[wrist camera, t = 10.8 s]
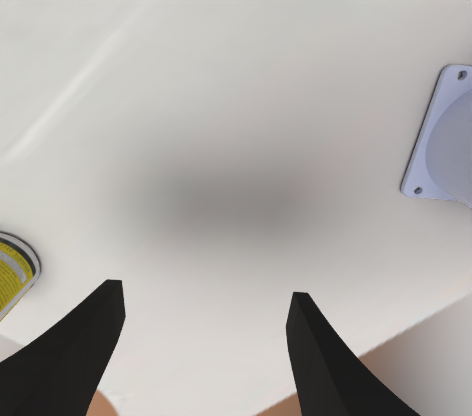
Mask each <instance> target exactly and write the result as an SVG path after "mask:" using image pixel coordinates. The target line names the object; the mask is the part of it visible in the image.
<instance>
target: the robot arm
mask: <svg viewBox="0 0 472 416" xmlns="http://www.w3.org/2000/svg"><path fill="white" fill-rule="evenodd" d="M460 71H462V72H463V74H462V77H461V78H460V79H459V80H458V78H457V76H458V74H459V72H460ZM418 187H419V190H418V191H417V192H414V190H415V189H416V188H418ZM401 193H402V194H404V195H405V196H407V197H416V198H429V199H441V200H454V201H460V202H462V203H463V204H465V205H466V206H468V207H469V208H471V209H472V66H465V65H449V66H447V67H445V68H444V69H443V71H442V73H441V75H440V78H439V81H438V84H437V86H436V89H435V92H434V95H433V98H432V101H431V104H430V106H429V109H428V112H427V115H426V118H425V121H424V123H423V126H422V129H421V132H420V135H419V138H418V141H417V143H416V146H415V149H414V152H413V155H412V158H411V161H410V163H409V166H408V169H407V172H406V175H405V178H404V180H403V183H402V186H401ZM125 317H126V316H125V306H124V297H123V287H122V280H108V279H107V280H106V281H104V282H103V283H102V284H101V285H100V286H99V287H98V288H97V289H96V290H94V291H93V292H92V293H91V294H90V295H89V296H88V297H87V298H86V299H84V300H83V301H82V302H81V303H80V304H79V305H78V306H76V307H75V308H74V309H73V310H72V311H71V312H70V313H68V314H67V315H66V316H65V317H64V318H62V319H61V320H60V321H59V322H57V323H56V324H55V325H54V326H52V327H51V328H50V329H49V330H47V331H46V332H45V333H43V334H42V335H41V336H39V337H38V338H37V339H35V340H34V341H32V342H31V343H30V344H28V345H27V346H25V347H24V348H22V349H21V350H19V351H18V352H16V353H15V354H13V355H12V356H10V357H8V358H7V359H5V360H3V361H2V362H0V416H86V414H87V410H88V408H89V405H90V403H91V400H92V398H93V395H94V393H95V391H96V389H97V386H98V384H99V382H100V380H101V378H102V375H103V373H104V371H105V369H106V367H107V364H108V362H109V360H110V358H111V355H112V353H113V351H114V349H115V347H116V344H117V342H118V339H119V336H120V333H121V330H122V327H123V324H124V320H125ZM286 335H287V344H288V352H289V357H290V362H291V366H292V371H293V375H294V380H295V384H296V389H297V393H298V398H299V402H300V407H301V413H302V416H420V415H419V414H418V413H416V412H415V411H414V410H413V409H411V408H410V407H409V406H408V405H407V404H405V403H404V402H403V401H402V400H401V399H399V398H398V397H397V396H396V395H395V394H394V393H393V392H392V391H390V390H389V389H388V388H387V387H386V386H385V385H384V384H383V383H382V382H381V381H379V380H378V379H377V378H376V377H375V376H374V375H373V374H372V373H371V372H370V371H369V370H368V369H367V368H366V367H365V365H363V364H362V362H361V361H360V360H359V359H358V358H357V357H356V356H355V355H354V354H353V352H352V351H351V350H350V349H349V348H348V346H347V345H346V344H345V343H344V342H343V340H342V339H341V338H340V337H339V335H338V334H337V333H336V331H335V330H334V329H333V328H332V326H331V325H330V324H329V322H328V321H327V320H326V318H325V317H324V315H323V314H322V313H321V311H320V310H319V308H318V307H317V305H316V304H315V302H314V301H313V299H312V298H311V297H310V295H309V294H308V293H304V292H293V296H292V300H291V305H290V309H289V314H288V319H287V323H286Z"/></svg>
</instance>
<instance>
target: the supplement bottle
mask: <svg viewBox="0 0 472 416" xmlns="http://www.w3.org/2000/svg"><path fill="white" fill-rule="evenodd" d="M39 273H40V267H39V262H38V260H37V258H36V256H35V254H34V253H33V251H32V250H31V249H30V248H29V247H28V246H27V245H26V244H24V243H23V242H21V241H20V240H18V239H16V238H14V237H12V236H9V235H6V234H2V233H0V321H1V320H2V319H3V318H4V317H5V316H6V315H7V314H8V313H9V311H10V310H11V309H12V308H13V307H14V306H15V305H16V304H17V303H18V301H19V300H20V299H21V298H22V297H23V296H24V295H25V294H26V293H27V291H28V290H29V289H30V288H31V287H32V286H33V284H34V283H35V282H36V280H37V279H38V277H39Z"/></svg>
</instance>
